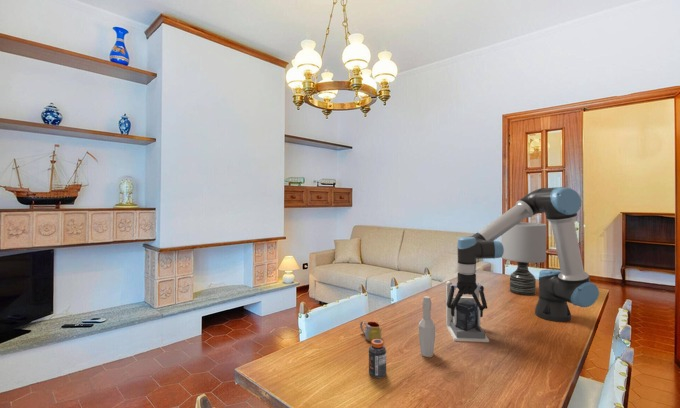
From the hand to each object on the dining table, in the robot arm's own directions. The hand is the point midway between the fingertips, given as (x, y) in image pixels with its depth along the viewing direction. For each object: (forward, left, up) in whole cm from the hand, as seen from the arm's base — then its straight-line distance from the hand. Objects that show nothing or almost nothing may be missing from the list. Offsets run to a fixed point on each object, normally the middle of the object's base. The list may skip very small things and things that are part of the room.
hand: (466, 323), depth 142 cm
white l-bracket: (0, 0, -4) cm, 4 cm away
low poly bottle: (+20, +20, -5) cm, 29 cm away
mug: (+42, +7, -5) cm, 43 cm away
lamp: (-51, -65, -5) cm, 83 cm away
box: (0, 0, -2) cm, 2 cm away
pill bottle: (+39, +36, -5) cm, 53 cm away
